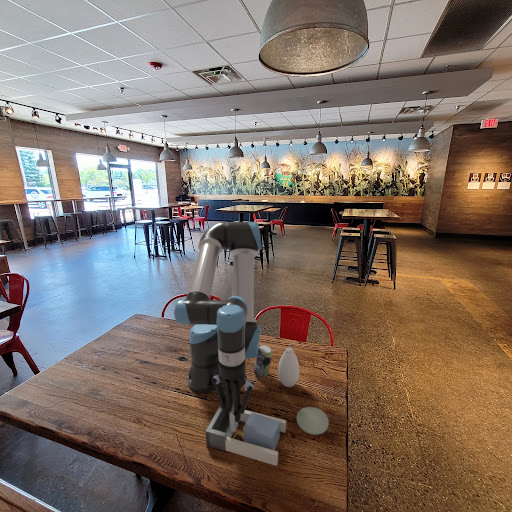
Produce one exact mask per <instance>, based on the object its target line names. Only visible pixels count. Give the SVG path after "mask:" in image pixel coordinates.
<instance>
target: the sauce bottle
mask: <svg viewBox="0 0 512 512" xmlns="http://www.w3.org/2000/svg"><path fill="white" fill-rule="evenodd" d="M277 375H278V379H279V381H280V382H281V384H282V385H283V386H285V387H287V388H292V387H294V386H295V385H296V384H297V382H298V379H299V377H300V364H299V359H298V357H297V355H296V353H295V352H294V350H293V348H292V347H291V344H290V342H289V343H288V347H286V348H285V351H284V352H283V353H282V355H281V356H280V358H279V362H278V368H277Z"/></svg>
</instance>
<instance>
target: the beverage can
mask: <svg viewBox="0 0 512 512" xmlns="http://www.w3.org/2000/svg"><path fill="white" fill-rule="evenodd" d="M272 355H273V351H272V348H271V347H270V346H268V345H266V344H262V345H259V347H258V354H257V356H256V357H255V360H254V366H253V374H254V375H255V376H257V377H258V378H265V377H268V376H269V371H270V366H271V362H272V357H273V356H272Z"/></svg>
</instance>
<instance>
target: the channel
mask: <svg viewBox="0 0 512 512" xmlns="http://www.w3.org/2000/svg"><path fill="white" fill-rule="evenodd" d="M252 412H253V413H255V414H258V415H261V416H264V417H267V418H270V419H273V420H276V421H279V422H280V433H281V432H282V433H284V434H285V433H286V430H287V420H286V419H283V418H280V417H275V416H270V415H267V414H262V413H260V412H259V413H258V412H255V411H251V410H247V409H245V411H244V413H243V414H241V418H240V420H239V422H242V423H246V422H247V420H248V418H249V416H250V415H251V413H252ZM225 448H226V452H230V453H233V454H236V455H238V456H239V455H240V456H243V457H246V458H248V459H253V460H255V461H259V462H261V463H266V464H269V465H272V466H276V467H278V464H279V451H276V450H275V451H274V450H270V449H267V448H264V447H260V446H257V445H253V444H250V443H246V442H244V440H243V441H241V440H239V439H236V438H229V437H227V438H226V440H225Z"/></svg>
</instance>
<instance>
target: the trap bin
mask: <svg viewBox="0 0 512 512" xmlns="http://www.w3.org/2000/svg"><path fill="white" fill-rule="evenodd" d="M233 406H234V404H233ZM233 406H232V407H233ZM233 436H234V432H231V431H230V420H228V419H227V411H226V409H222V408H221V407H220V406H218V409H217V411H216V412H215V414H214V415H213V417H212V420H211V421H210V422H209V425H208V426H207V428H206V430H205V442H206V446H208V447H211V448H213V449H218V450H221V451H226V448H225V440H226V438H227V437H229V438H232V437H233ZM232 439H233V438H232ZM226 452H227V451H226Z"/></svg>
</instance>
